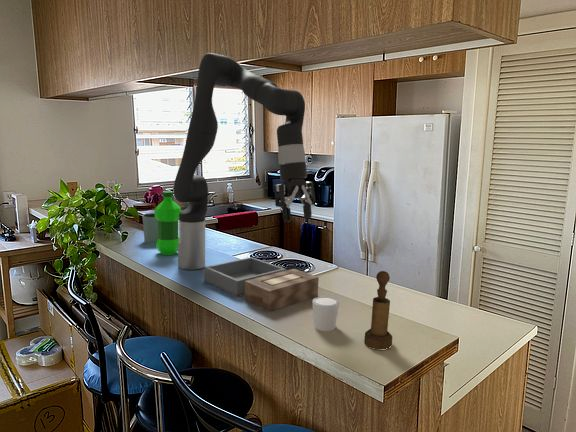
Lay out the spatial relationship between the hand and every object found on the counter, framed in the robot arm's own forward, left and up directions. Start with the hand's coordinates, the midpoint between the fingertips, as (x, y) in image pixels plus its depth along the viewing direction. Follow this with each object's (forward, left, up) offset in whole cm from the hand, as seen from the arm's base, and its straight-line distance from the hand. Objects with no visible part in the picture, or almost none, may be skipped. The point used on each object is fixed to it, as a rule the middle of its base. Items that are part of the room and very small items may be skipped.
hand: (298, 220), depth 124 cm
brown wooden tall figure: (+19, -23, -25) cm, 39 cm away
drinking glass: (-61, +71, -25) cm, 97 cm away
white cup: (+7, -14, -25) cm, 30 cm away
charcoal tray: (-16, +19, -25) cm, 35 cm away
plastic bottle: (-50, +52, -25) cm, 76 cm away
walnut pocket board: (-4, +5, -25) cm, 26 cm away
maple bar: (-4, +5, -22) cm, 23 cm away
